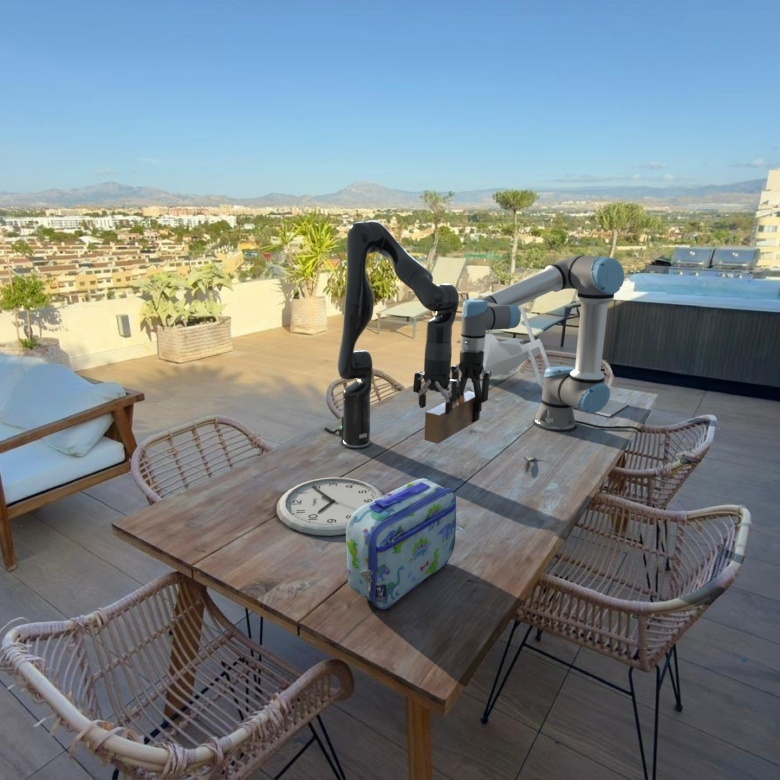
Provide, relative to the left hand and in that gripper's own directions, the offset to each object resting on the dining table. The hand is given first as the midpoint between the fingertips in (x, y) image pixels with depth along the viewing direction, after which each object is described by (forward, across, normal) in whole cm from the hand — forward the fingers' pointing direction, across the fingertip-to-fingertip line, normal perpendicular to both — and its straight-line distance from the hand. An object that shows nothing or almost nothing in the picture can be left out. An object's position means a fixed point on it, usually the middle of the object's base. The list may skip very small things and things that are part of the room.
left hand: (435, 410), depth 152 cm
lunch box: (+22, +20, -45) cm, 54 cm away
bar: (+10, 0, +12) cm, 15 cm away
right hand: (+9, 0, +21) cm, 23 cm away
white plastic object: (+23, -23, +108) cm, 113 cm away
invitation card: (+22, +23, +103) cm, 108 cm away
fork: (+22, +20, +28) cm, 41 cm away
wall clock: (+22, -13, -30) cm, 40 cm away
